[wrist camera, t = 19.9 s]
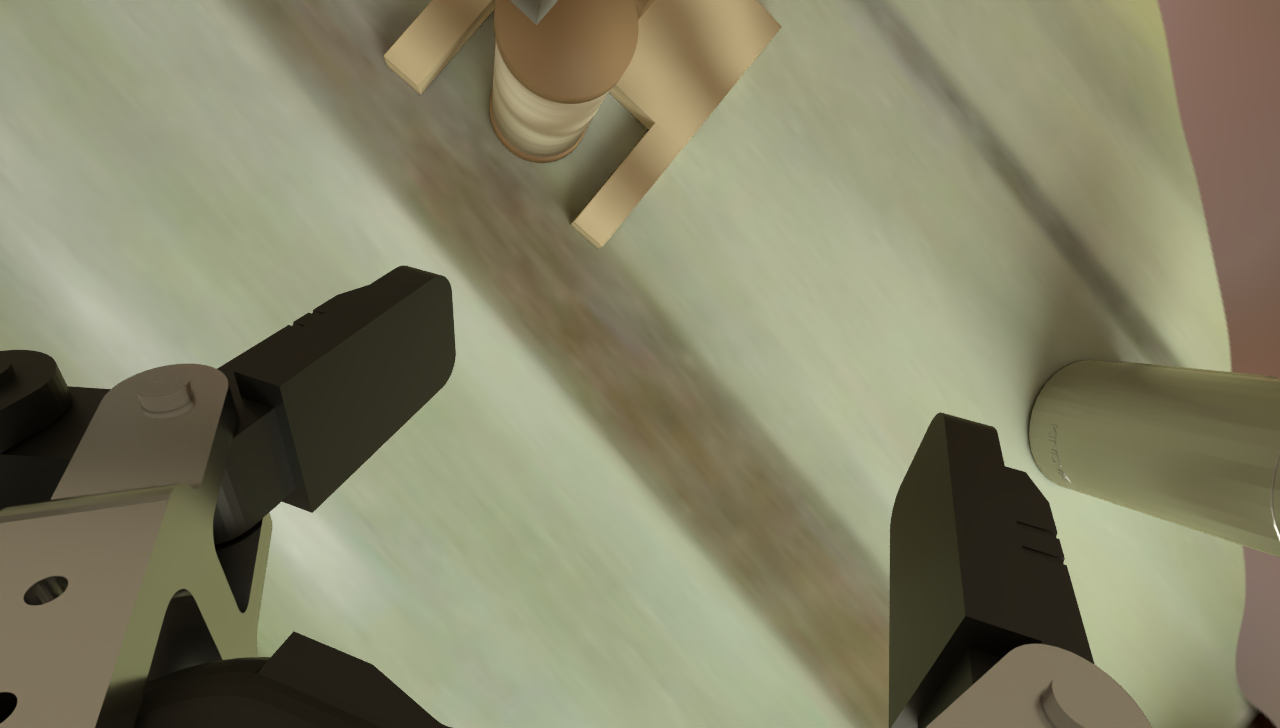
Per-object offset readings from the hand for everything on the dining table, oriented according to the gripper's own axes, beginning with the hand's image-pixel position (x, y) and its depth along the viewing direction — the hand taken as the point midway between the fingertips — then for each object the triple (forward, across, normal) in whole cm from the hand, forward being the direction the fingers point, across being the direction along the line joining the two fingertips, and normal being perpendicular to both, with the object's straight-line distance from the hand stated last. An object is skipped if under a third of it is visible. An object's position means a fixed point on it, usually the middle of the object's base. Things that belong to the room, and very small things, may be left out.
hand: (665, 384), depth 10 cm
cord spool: (+25, +14, +3) cm, 29 cm away
